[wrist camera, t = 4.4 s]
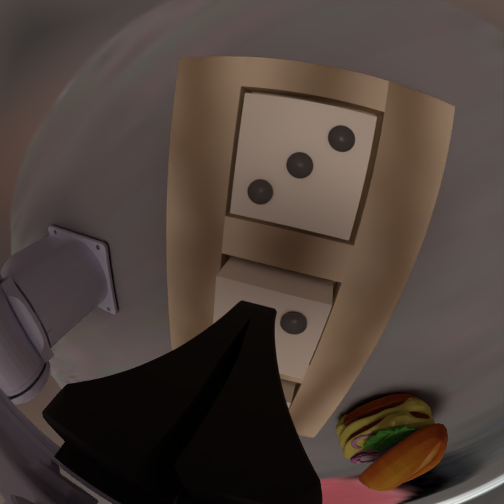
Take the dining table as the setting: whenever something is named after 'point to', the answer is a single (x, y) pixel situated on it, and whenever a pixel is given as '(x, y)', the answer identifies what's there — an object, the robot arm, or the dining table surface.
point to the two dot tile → (279, 306)
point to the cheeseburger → (392, 440)
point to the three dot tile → (301, 163)
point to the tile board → (294, 239)
